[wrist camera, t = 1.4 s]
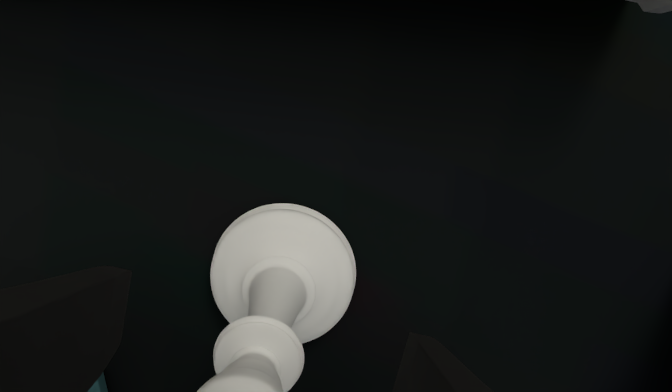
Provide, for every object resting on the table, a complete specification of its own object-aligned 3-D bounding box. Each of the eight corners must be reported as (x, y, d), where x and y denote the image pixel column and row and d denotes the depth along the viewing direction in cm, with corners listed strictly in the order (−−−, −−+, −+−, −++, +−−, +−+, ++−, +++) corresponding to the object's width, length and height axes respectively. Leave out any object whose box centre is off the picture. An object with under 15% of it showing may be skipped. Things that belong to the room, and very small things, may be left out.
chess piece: (203, 209, 17) (9, 380, 7) (349, 196, 17) (365, 352, 7) (223, 343, 18) (79, 658, 8) (361, 332, 18) (389, 639, 8)
